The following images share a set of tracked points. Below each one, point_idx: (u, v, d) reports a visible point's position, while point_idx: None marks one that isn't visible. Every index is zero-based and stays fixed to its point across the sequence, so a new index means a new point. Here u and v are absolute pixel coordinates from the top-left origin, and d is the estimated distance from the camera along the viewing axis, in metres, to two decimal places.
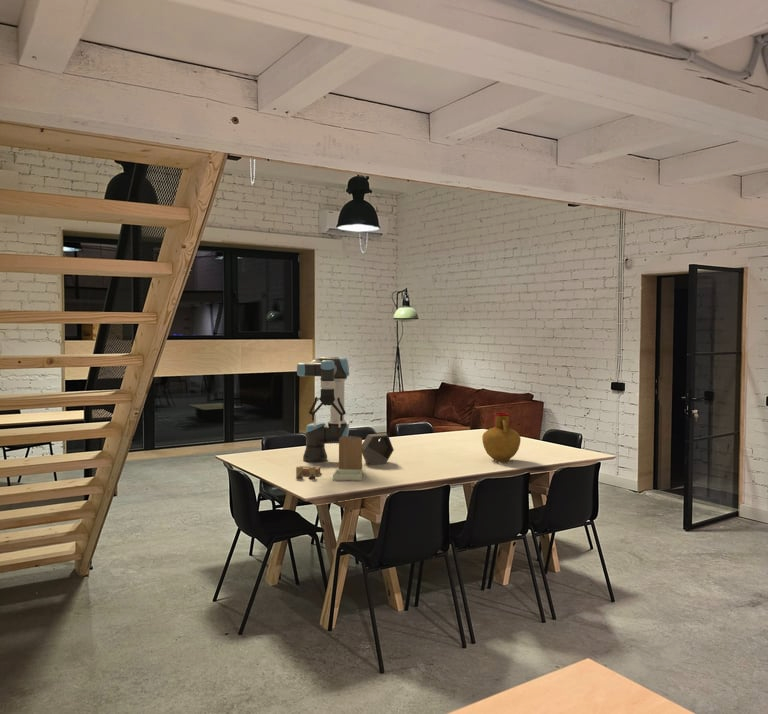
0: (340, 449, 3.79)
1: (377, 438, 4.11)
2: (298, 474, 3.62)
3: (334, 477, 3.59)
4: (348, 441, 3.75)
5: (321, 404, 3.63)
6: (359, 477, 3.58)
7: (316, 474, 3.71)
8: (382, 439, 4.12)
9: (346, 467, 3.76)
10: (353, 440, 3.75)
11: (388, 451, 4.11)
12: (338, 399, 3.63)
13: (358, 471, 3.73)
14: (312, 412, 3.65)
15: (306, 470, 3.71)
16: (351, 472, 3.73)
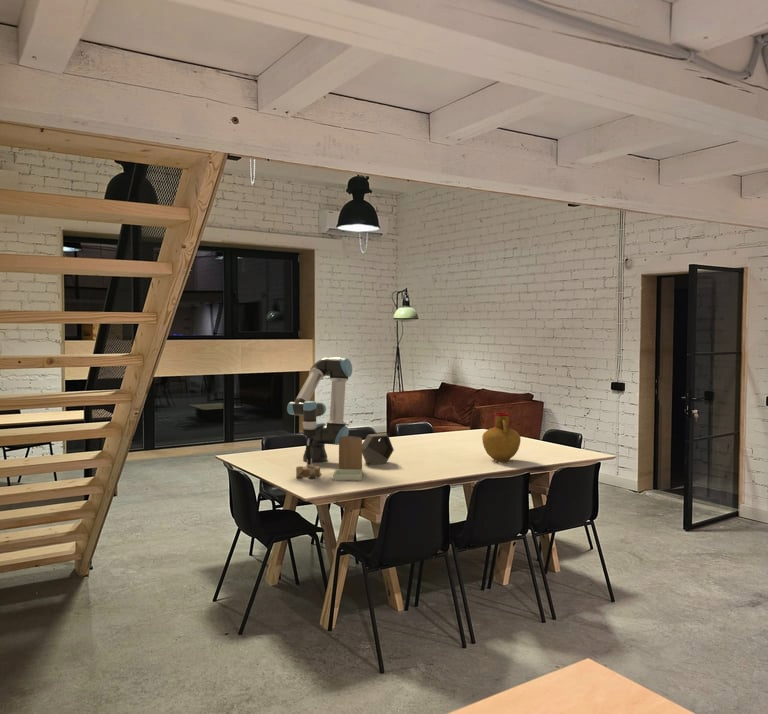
0: (340, 449, 3.79)
1: (377, 438, 4.11)
2: (298, 474, 3.62)
3: (334, 477, 3.59)
4: (348, 441, 3.75)
5: None
6: (359, 477, 3.58)
7: (316, 474, 3.69)
8: (382, 439, 4.12)
9: (346, 467, 3.76)
10: (353, 440, 3.75)
11: (388, 451, 4.11)
12: None
13: (358, 471, 3.73)
14: None
15: (306, 470, 3.69)
16: (351, 472, 3.73)
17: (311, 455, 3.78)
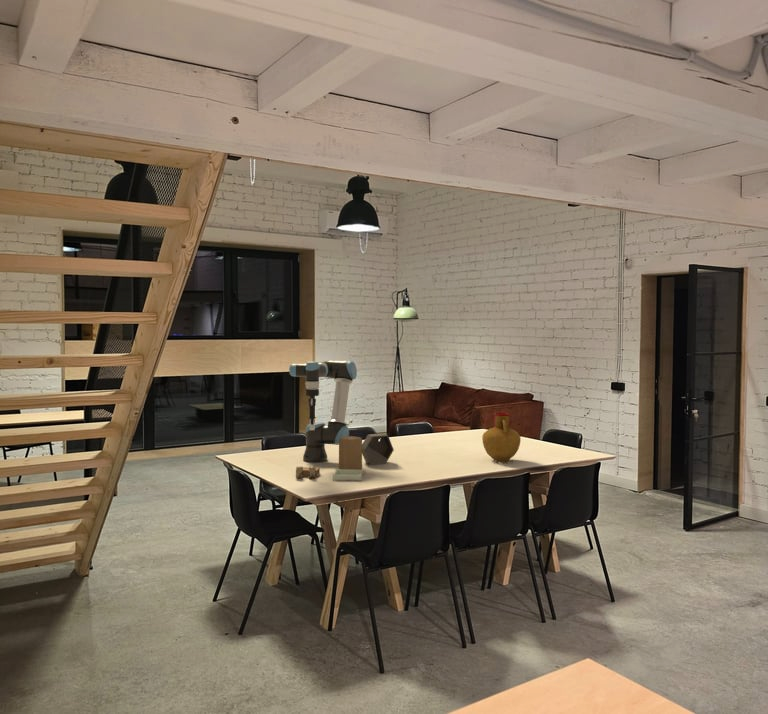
0: (340, 449, 3.79)
1: (377, 438, 4.11)
2: (298, 474, 3.62)
3: (334, 477, 3.59)
4: (348, 441, 3.75)
5: None
6: (359, 477, 3.58)
7: (315, 475, 3.67)
8: (382, 439, 4.12)
9: (346, 467, 3.76)
10: (353, 440, 3.75)
11: (388, 451, 4.11)
12: None
13: (358, 471, 3.73)
14: None
15: (305, 471, 3.68)
16: (351, 472, 3.73)
17: (314, 415, 3.79)
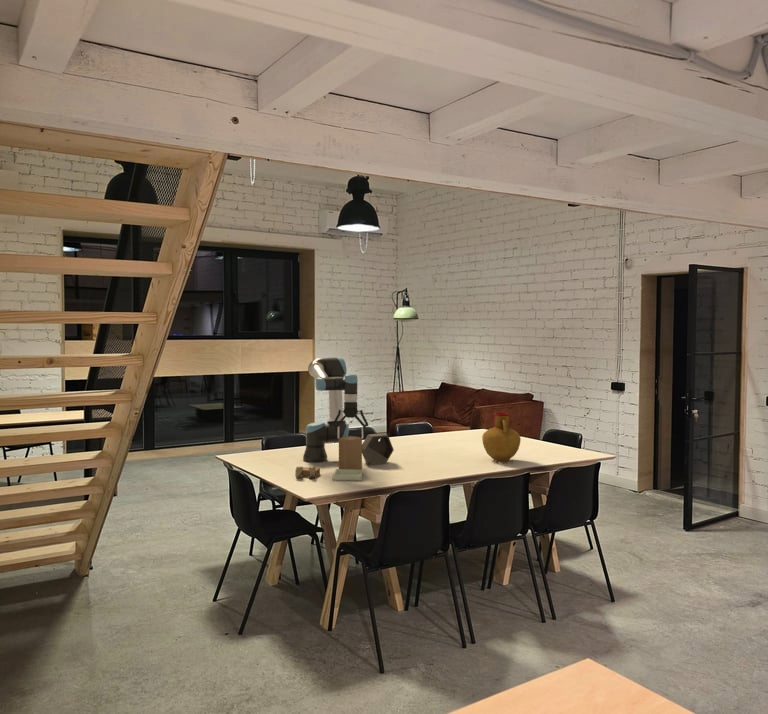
0: (340, 449, 3.79)
1: (377, 438, 4.11)
2: (298, 474, 3.62)
3: (334, 477, 3.59)
4: (348, 441, 3.75)
5: (345, 416, 3.78)
6: (359, 477, 3.58)
7: None
8: (382, 439, 4.12)
9: (346, 467, 3.76)
10: (353, 440, 3.75)
11: (388, 451, 4.11)
12: (361, 411, 3.78)
13: (358, 471, 3.73)
14: (336, 424, 3.79)
15: (304, 471, 3.68)
16: (351, 472, 3.73)
17: None
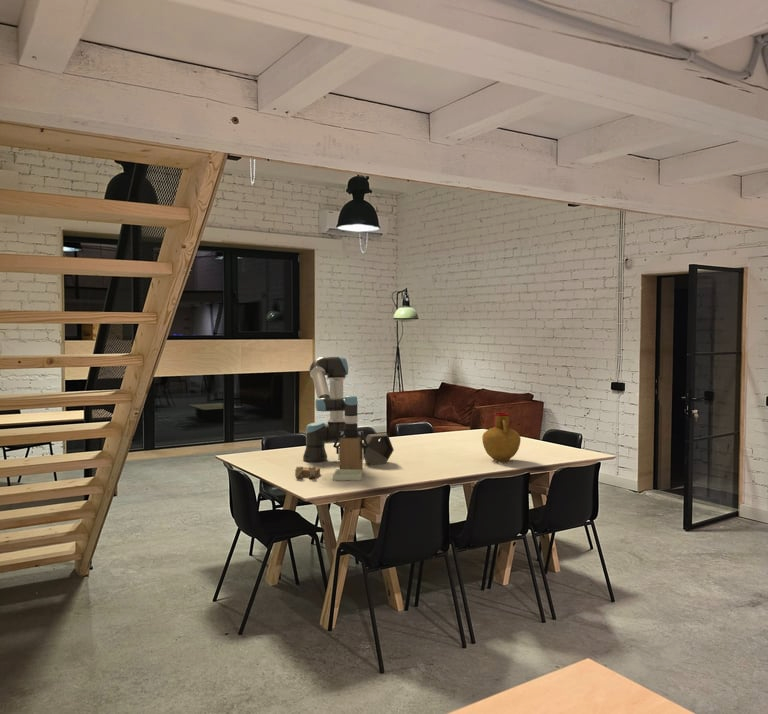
0: (341, 449, 3.78)
1: (377, 438, 4.11)
2: (298, 474, 3.62)
3: (334, 477, 3.59)
4: (350, 441, 3.75)
5: None
6: (359, 477, 3.58)
7: None
8: (382, 439, 4.12)
9: (348, 467, 3.76)
10: (354, 440, 3.75)
11: (388, 451, 4.11)
12: (361, 433, 3.79)
13: (358, 471, 3.73)
14: (336, 446, 3.80)
15: (304, 471, 3.68)
16: (351, 472, 3.73)
17: None
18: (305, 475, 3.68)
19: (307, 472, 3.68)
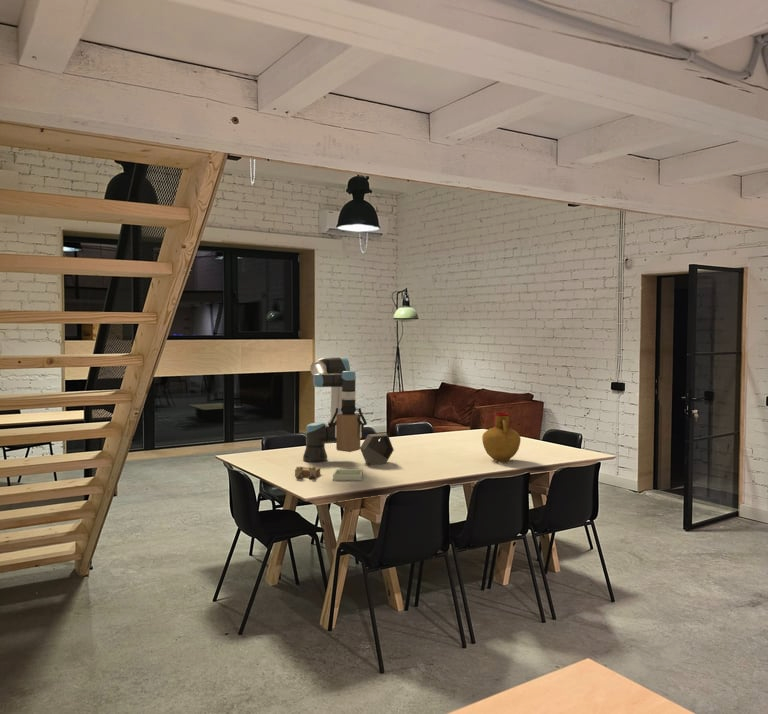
0: (338, 426, 3.63)
1: (377, 438, 4.11)
2: (298, 474, 3.62)
3: (334, 477, 3.59)
4: (347, 418, 3.60)
5: None
6: (359, 477, 3.58)
7: None
8: (382, 439, 4.12)
9: (345, 445, 3.61)
10: (352, 417, 3.60)
11: (388, 451, 4.11)
12: (359, 410, 3.63)
13: (358, 471, 3.73)
14: (333, 423, 3.65)
15: (304, 471, 3.68)
16: (351, 472, 3.73)
17: None
18: (304, 475, 3.68)
19: (306, 472, 3.68)
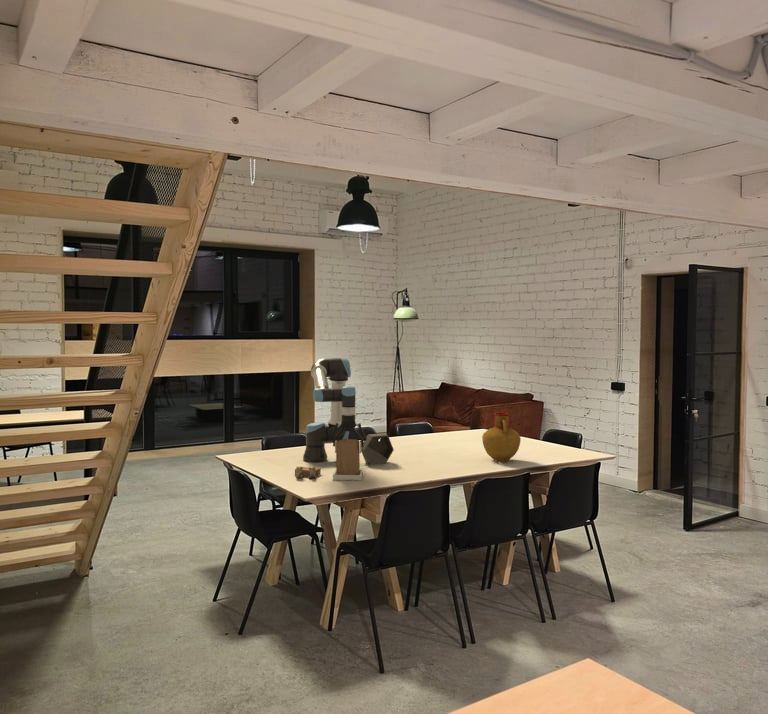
0: (338, 453, 3.62)
1: (377, 438, 4.11)
2: (298, 474, 3.62)
3: (334, 477, 3.59)
4: (347, 444, 3.60)
5: (342, 430, 3.64)
6: (359, 477, 3.58)
7: None
8: (382, 439, 4.12)
9: (345, 471, 3.61)
10: (352, 443, 3.61)
11: (388, 451, 4.11)
12: (359, 425, 3.64)
13: None
14: (333, 438, 3.65)
15: (303, 471, 3.68)
16: None
17: None
18: (304, 475, 3.68)
19: (306, 472, 3.68)
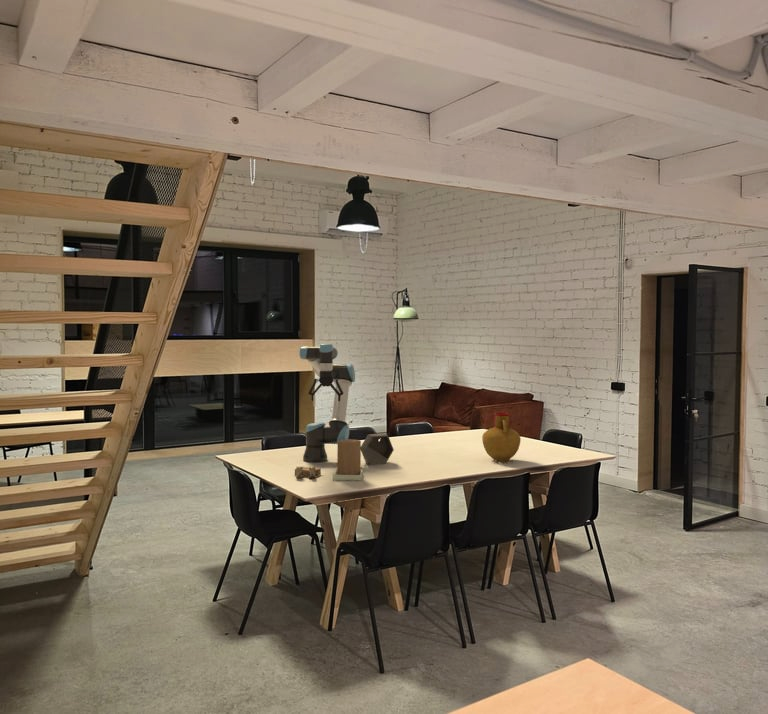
0: (339, 453, 3.63)
1: (377, 438, 4.11)
2: (298, 474, 3.62)
3: (334, 477, 3.59)
4: (349, 444, 3.60)
5: (320, 385, 3.84)
6: (359, 477, 3.58)
7: None
8: (382, 439, 4.12)
9: (347, 472, 3.61)
10: (354, 443, 3.61)
11: (388, 451, 4.11)
12: (336, 380, 3.84)
13: None
14: (312, 393, 3.86)
15: (303, 471, 3.68)
16: None
17: None
18: (303, 475, 3.68)
19: (305, 472, 3.68)
